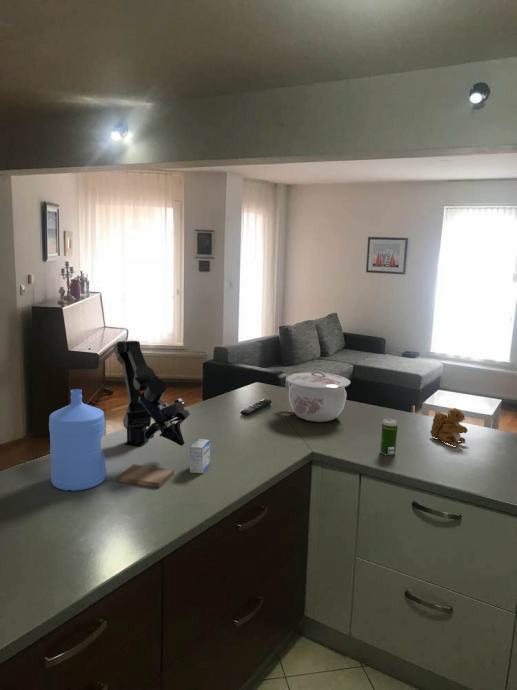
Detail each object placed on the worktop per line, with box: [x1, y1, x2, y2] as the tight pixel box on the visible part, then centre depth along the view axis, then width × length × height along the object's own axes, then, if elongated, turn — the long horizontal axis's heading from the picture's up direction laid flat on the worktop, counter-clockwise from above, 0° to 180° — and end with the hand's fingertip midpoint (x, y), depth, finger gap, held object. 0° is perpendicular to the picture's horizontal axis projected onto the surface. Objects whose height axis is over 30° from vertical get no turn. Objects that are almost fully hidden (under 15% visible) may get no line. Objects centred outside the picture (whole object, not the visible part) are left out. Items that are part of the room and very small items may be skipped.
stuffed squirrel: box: [429, 407, 468, 447], centre depth 201 cm, size 10×14×13 cm
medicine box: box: [189, 438, 211, 474], centre depth 169 cm, size 8×4×9 cm, turn 168°
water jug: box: [48, 388, 107, 492], centre depth 156 cm, size 16×16×28 cm
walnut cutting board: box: [116, 463, 175, 489], centre depth 161 cm, size 14×10×2 cm
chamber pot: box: [285, 370, 351, 423], centre depth 225 cm, size 28×28×21 cm
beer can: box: [379, 418, 399, 456], centre depth 186 cm, size 5×5×12 cm
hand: (183, 444), depth 170 cm, fingers closed
